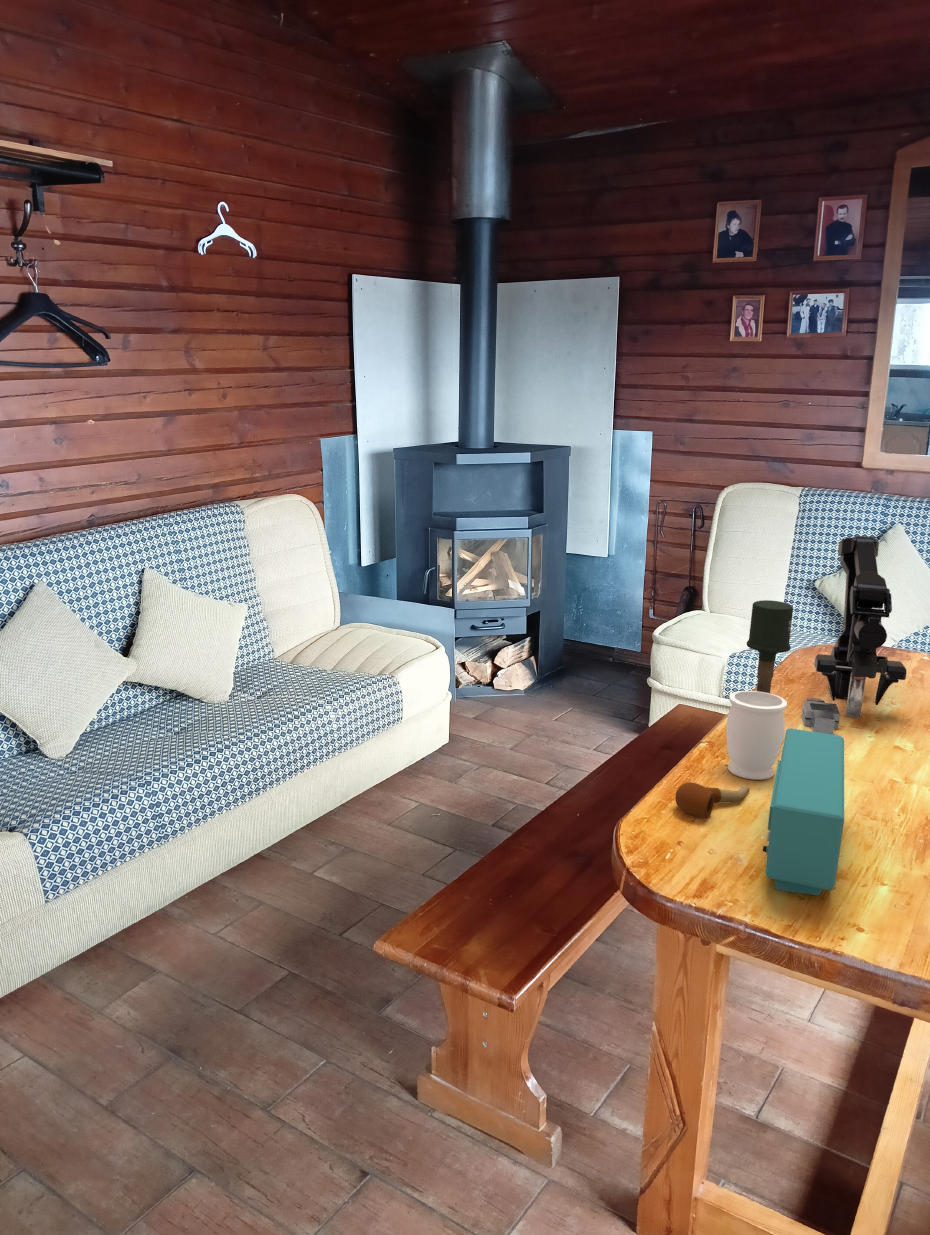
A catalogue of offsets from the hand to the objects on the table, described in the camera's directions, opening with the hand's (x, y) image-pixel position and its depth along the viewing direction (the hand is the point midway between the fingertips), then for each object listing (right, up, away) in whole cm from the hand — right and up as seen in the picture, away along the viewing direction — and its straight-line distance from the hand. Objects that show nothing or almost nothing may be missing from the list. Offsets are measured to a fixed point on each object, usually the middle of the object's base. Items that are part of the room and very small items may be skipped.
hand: (854, 702), depth 214 cm
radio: (-35, -19, -63) cm, 74 cm away
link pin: (0, -3, +1) cm, 3 cm away
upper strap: (-10, -5, -6) cm, 13 cm away
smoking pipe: (-45, -14, -46) cm, 66 cm away
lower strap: (-9, -3, 0) cm, 9 cm away
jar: (-34, -11, -32) cm, 48 cm away
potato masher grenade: (-28, -7, -17) cm, 33 cm away
